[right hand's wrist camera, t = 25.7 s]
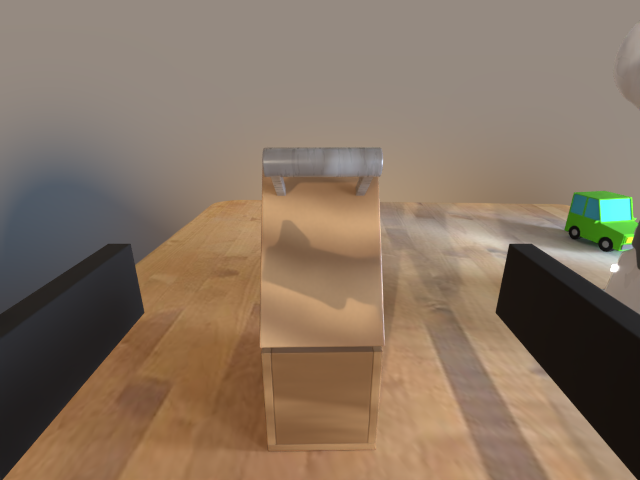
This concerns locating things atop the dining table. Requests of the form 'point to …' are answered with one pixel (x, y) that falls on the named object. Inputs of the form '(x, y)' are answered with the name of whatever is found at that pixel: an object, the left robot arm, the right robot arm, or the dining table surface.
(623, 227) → the toy car
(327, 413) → the chest
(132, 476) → the dining table surface
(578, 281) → the right robot arm
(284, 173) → the lid
